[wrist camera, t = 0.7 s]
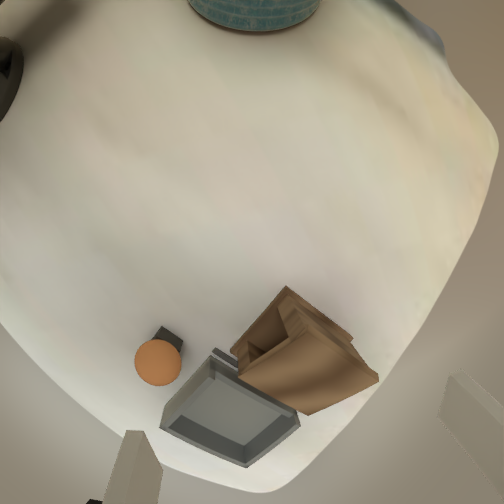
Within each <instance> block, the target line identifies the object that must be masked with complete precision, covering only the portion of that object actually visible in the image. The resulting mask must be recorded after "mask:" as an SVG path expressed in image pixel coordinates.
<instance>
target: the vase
mask: <svg viewBox="0 0 504 504" xmlns="http://www.w3.org/2000/svg"><path fill="white" fill-rule="evenodd" d="M188 2H189V3H190V5H191V6H192V7H193V8H194V9H195V10H196V11H197V12H198V13H199V14H201V15H202V16H204V17H205V18H207V19H208V20H210V21H212V22H214V23H217V24H219V25H222V26H225V27H228V28H232V29H237V30H244V31H272V30H278V29H283V28H287V27H290V26H293V25H295V24H297V23H300V22H301V21H303V20H305V19H306V18H308V17H309V16H310V15H311V14H312V13H313V12H314V11H315V10H316V9H317V8H318V6H319V4H320V2H321V0H188Z"/></svg>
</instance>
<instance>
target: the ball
mask: <svg viewBox="0 0 504 504" xmlns="http://www.w3.org/2000/svg"><path fill="white" fill-rule="evenodd" d="M135 368H136V371H137V373H138V375H139V376H140V377H141V378H142V379H143V380H144V381H145V382H147V383H149V384H151V385H155V386H164V385H167V384H170V383H171V382H173V381H174V380H175V379H176V378H177V377H178V375H179V373H180V371H181V357H180V355H179V352H178V351H177V349H176V348H175V347H174V346H173V345H172V344H170V343H168V342H166V341H164V340H158V339H155V340H150V341H147V342H145V343H144V344H142V345H141V346H140V347H139V349H138V350H137V352H136V355H135Z"/></svg>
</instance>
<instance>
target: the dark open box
mask: <svg viewBox="0 0 504 504" xmlns="http://www.w3.org/2000/svg"><path fill="white" fill-rule="evenodd" d="M155 339H159V340H164V341H166V342H168V343H170V344H172V345H173V346H174V347H175V348H176V349H177V351H178V352H180V350H181V346H182V343H183V340H181V339H180V338H178V337H177V336H176V335H174V334H173V333H171V332H170V331H168V330H167V329H165V328H164V327H163V326H161V328H160V329H159V330H158V332H157V333H156V334H155V336H154V337H153V338H152V340H155Z"/></svg>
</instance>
